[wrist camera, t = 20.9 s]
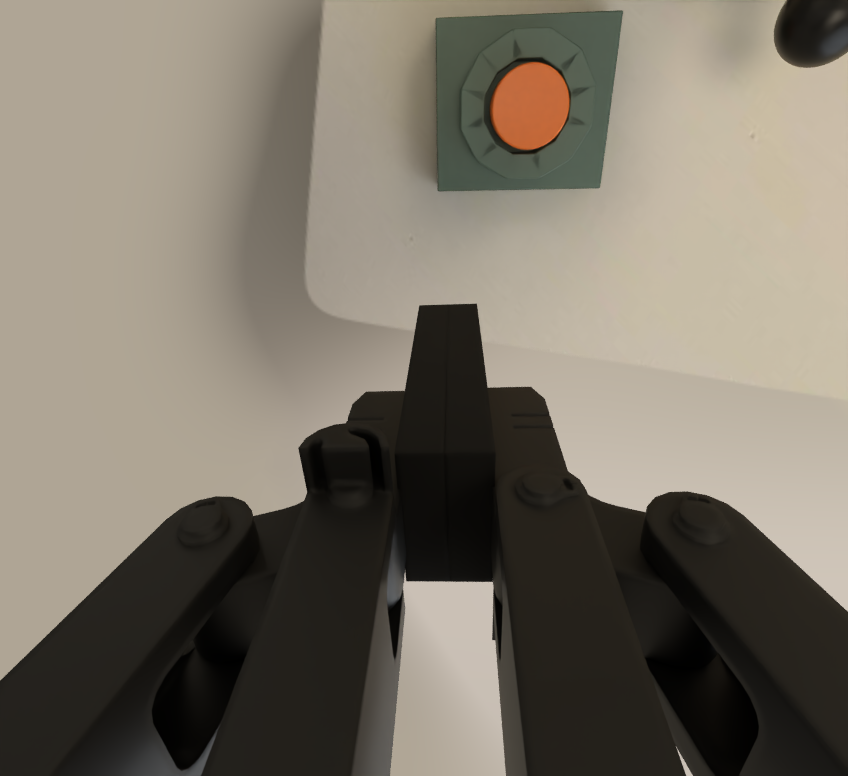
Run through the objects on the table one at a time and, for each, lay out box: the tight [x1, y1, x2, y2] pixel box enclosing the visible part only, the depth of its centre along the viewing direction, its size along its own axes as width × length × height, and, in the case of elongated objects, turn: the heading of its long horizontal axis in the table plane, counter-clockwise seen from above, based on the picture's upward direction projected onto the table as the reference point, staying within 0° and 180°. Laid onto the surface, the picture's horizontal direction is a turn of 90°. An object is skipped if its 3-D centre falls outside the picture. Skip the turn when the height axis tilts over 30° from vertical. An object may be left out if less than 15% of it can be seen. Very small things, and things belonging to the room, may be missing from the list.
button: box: [490, 62, 569, 150], centre depth 24 cm, size 4×4×2 cm
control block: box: [436, 10, 623, 191], centre depth 27 cm, size 9×8×4 cm
